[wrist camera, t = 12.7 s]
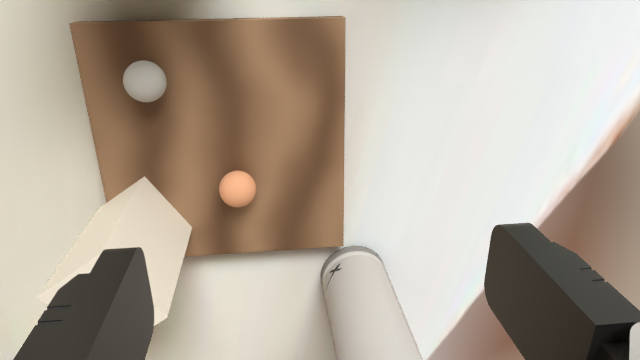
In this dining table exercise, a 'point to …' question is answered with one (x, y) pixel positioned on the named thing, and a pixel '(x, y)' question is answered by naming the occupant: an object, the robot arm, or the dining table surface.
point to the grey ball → (144, 81)
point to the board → (226, 123)
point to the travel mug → (365, 308)
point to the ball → (237, 188)
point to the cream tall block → (131, 242)
